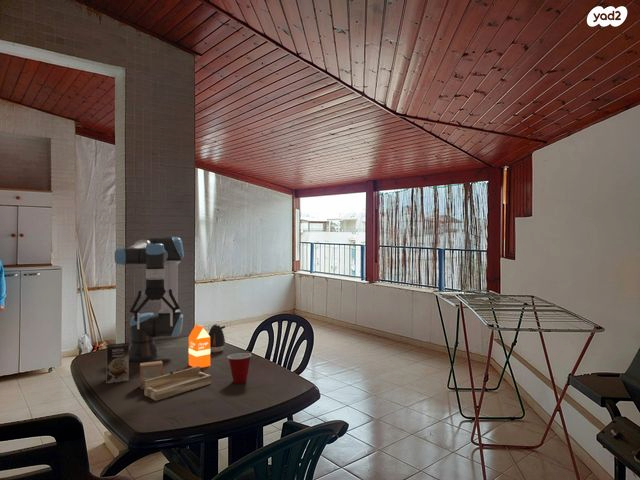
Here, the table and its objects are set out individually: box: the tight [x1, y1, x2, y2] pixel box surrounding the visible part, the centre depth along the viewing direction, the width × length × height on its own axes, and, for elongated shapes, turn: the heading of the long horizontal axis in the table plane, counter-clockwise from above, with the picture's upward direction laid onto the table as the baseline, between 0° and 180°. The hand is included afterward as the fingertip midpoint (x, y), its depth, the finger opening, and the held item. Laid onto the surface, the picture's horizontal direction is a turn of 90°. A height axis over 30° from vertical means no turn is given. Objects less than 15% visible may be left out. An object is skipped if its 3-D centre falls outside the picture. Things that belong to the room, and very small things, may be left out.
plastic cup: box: [226, 352, 252, 384], centre depth 193 cm, size 11×11×12 cm
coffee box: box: [105, 342, 130, 384], centre depth 194 cm, size 9×6×16 cm
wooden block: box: [139, 360, 164, 391], centre depth 186 cm, size 5×9×10 cm, turn 115°
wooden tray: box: [143, 366, 212, 401], centre depth 183 cm, size 9×26×7 cm, turn 140°
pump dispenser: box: [208, 323, 226, 353], centre depth 242 cm, size 10×10×15 cm
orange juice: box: [188, 324, 211, 369], centre depth 216 cm, size 8×9×20 cm
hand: (155, 327), depth 187 cm, fingers open, 13 cm apart
